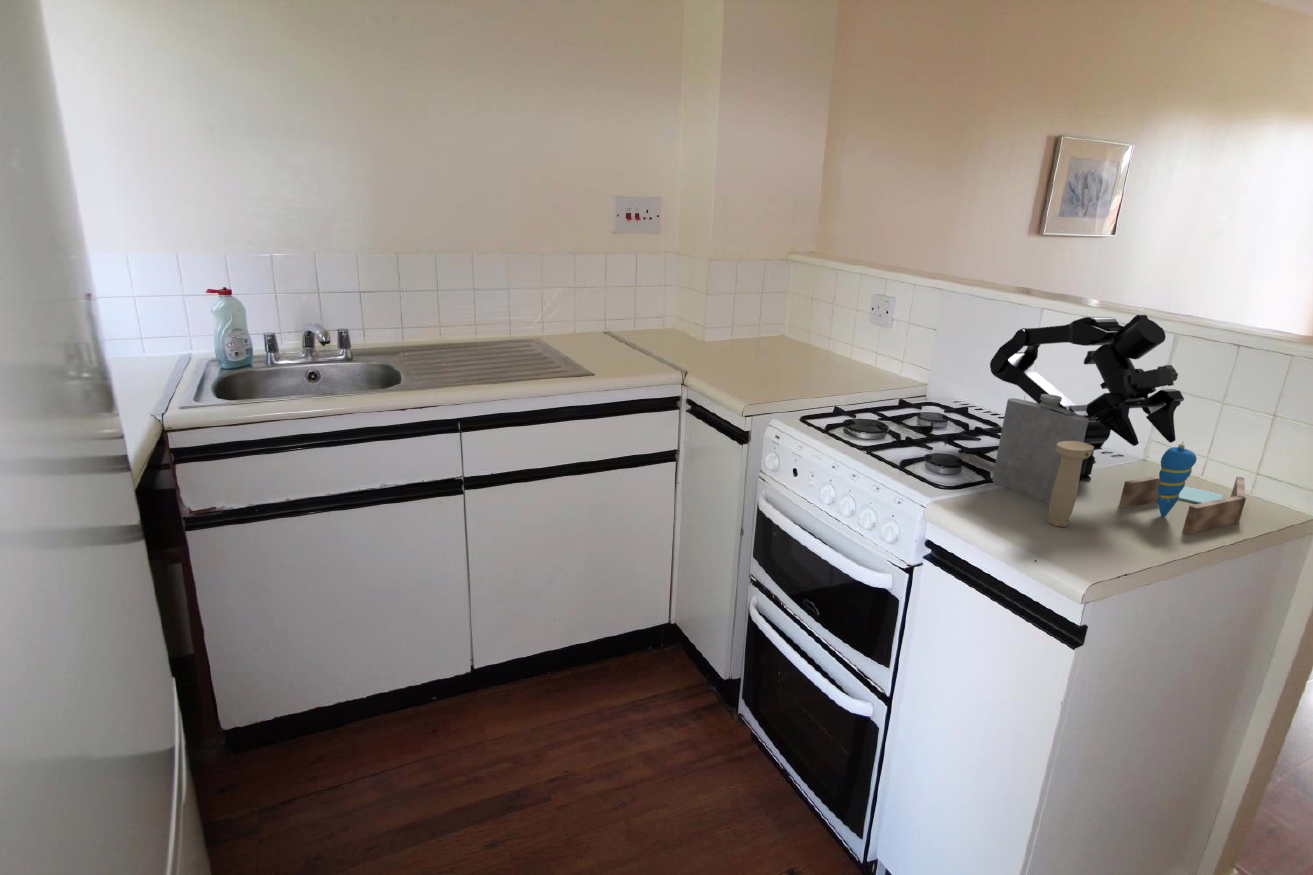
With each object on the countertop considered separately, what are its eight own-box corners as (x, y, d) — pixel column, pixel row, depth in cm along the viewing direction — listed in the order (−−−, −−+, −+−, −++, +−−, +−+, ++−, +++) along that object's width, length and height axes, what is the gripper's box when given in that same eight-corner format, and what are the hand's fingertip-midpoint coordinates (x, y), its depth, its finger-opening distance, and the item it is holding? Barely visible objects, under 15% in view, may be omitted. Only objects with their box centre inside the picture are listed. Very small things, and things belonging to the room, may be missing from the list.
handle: (1081, 526, 136) (1100, 447, 131) (1057, 532, 133) (1075, 452, 129) (1057, 516, 140) (1075, 439, 135) (1033, 521, 138) (1050, 443, 133)
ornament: (1181, 517, 142) (1203, 441, 137) (1176, 525, 138) (1198, 447, 134) (1150, 508, 145) (1170, 434, 140) (1143, 516, 142) (1164, 440, 137)
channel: (1146, 530, 136) (1153, 504, 134) (1089, 478, 160) (1094, 456, 158) (1301, 543, 133) (1310, 517, 131) (1219, 489, 157) (1226, 466, 155)
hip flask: (988, 481, 156) (1006, 387, 150) (1000, 477, 158) (1019, 385, 152) (1062, 509, 144) (1085, 407, 137) (1074, 505, 146) (1098, 405, 139)
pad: (1221, 508, 147) (1222, 507, 146) (1170, 497, 151) (1170, 495, 151) (1221, 496, 153) (1222, 494, 153) (1172, 485, 158) (1173, 483, 158)
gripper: (1113, 351, 139) (1152, 426, 133) (1187, 348, 145) (1228, 420, 138) (1069, 382, 149) (1104, 453, 142) (1141, 378, 154) (1177, 447, 148)
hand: (1154, 443), depth 143 cm, fingers open, 9 cm apart
